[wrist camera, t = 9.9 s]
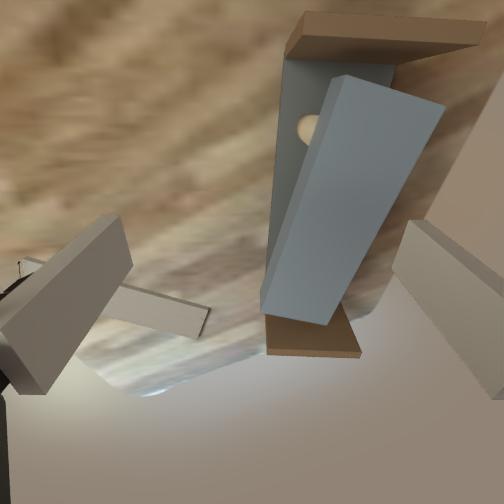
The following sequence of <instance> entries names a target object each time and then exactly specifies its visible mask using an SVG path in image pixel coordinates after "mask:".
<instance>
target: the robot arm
mask: <svg viewBox="0 0 504 504" xmlns="http://www.w3.org/2000/svg"><path fill="white" fill-rule="evenodd" d="M132 267H133V262H132V259H131V255H130V251H129V248H128V244H127V240H126V237H125V233H124V229H123V225H122V222H121V218H120V215H102V216H101V217H100V218H99V219H97V220H96V221H95V222H94V223H93V224H91V225H90V226H89V227H88V228H87V229H85V230H84V231H83V232H82V233H81V234H80V235H78V236H77V237H76V238H75V239H74V240H72V241H71V242H70V243H69V244H68V245H66V246H65V247H64V248H63V249H62V250H60V251H59V252H58V253H57V254H56V255H55V256H53V257H52V258H51V259H50V260H49V261H47V262H46V263H45V264H44V265H43V266H41V267H40V268H39V269H38V270H37V271H35V272H33V273H31V274H29V275H27V276H25V277H23V278H21V279H19V280H17V281H16V282H15V283H13V284H12V285H11V286H10V287H8V288H7V289H6V290H5V291H4V293H3V294H0V504H11V500H10V483H9V481H10V480H9V462H8V443H7V442H8V441H7V422H6V403H5V400H4V398H3V396H2V395H1V393H2V391H3V390H4V389H5V388H6V387H7V385H8V384H9V383H10V384H11V385H12V386H13V387H14V388H15V390H16V391H17V392H18V393H19V395H46V394H47V392H48V391H49V389H50V388H51V386H52V384H53V383H54V382H55V380H56V379H57V377H58V376H59V374H60V373H61V372H62V370H63V369H64V367H65V366H66V364H67V363H68V361H69V360H70V358H71V357H72V355H73V354H74V352H75V351H76V349H77V348H78V346H79V345H80V343H81V342H82V341H83V339H84V338H85V336H86V335H87V333H88V332H89V330H90V329H91V327H92V326H93V324H94V323H95V321H96V320H97V318H98V317H99V315H100V314H101V312H102V311H103V310H104V308H105V307H106V305H107V304H108V302H109V301H110V299H111V298H112V296H113V295H114V293H115V292H116V290H117V289H118V287H119V286H120V284H121V283H122V281H123V280H124V278H125V277H126V276H127V274H128V273H129V271H130V270H131V268H132ZM391 269H392V271H393V272H394V273H395V275H396V276H397V277H398V278H399V280H400V281H401V282H402V284H403V285H404V286H405V288H406V289H407V290H408V292H409V293H410V294H411V295H412V297H413V298H414V299H415V301H416V302H417V303H418V305H419V306H420V307H421V308H422V310H423V311H424V312H425V313H426V315H427V316H428V317H429V319H430V320H431V321H432V323H433V324H434V325H435V327H436V328H437V329H438V331H439V332H440V333H441V334H442V336H443V337H444V338H445V340H446V341H447V342H448V343H449V345H450V346H451V347H452V349H453V350H454V351H455V353H456V354H457V355H458V357H459V358H460V359H461V361H462V362H463V363H464V364H465V366H466V367H467V368H468V370H469V371H470V372H471V373H472V375H473V376H474V377H475V379H476V380H477V381H478V383H479V384H480V385H481V386H482V388H483V389H484V390H485V392H486V393H487V394H488V396H489V397H490V398H491V400H504V279H503V278H502V277H501V276H499V275H498V274H497V273H495V272H494V271H493V270H491V269H490V268H489V267H487V266H486V265H485V264H483V263H482V262H481V261H479V260H478V259H477V258H475V257H474V256H473V255H472V254H470V253H469V252H468V251H466V250H465V249H464V248H462V247H461V246H460V245H458V244H457V243H456V242H454V241H453V240H452V239H450V238H449V237H448V236H446V235H445V234H444V233H442V232H441V231H440V230H439V229H437V228H436V227H435V226H433V225H432V224H430V223H429V222H428V221H427V220H409V221H408V224H407V227H406V230H405V232H404V235H403V238H402V241H401V243H400V246H399V249H398V252H397V255H396V257H395V260H394V263H393V266H392V268H391Z"/></svg>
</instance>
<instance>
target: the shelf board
mask: <svg viewBox="0 0 504 504" xmlns="http://www.w3.org/2000/svg"><path fill="white" fill-rule="evenodd" d="M446 107H447V106H444V105H441V104H438V103H435V102H431V101H428V100H425V99H422V98H419V97H416V96H412V95H409V94H406V93H403V92H400V91H397V90H394V89H390V88H387V87H384V86H381V85H378V84H375V83H372V82H368V81H365V80H362V79H359V78H356V77H353V76H349V75H343V76H339V77H335V78H332V79H331V82H330V85H329V88H328V91H327V94H326V97H325V100H324V103H323V106H322V109H321V112H320V115H319V118H318V121H317V124H316V126H315V129H314V132H313V135H312V138H311V141H310V144H309V147H308V150H307V153H306V156H305V159H304V162H303V165H302V168H301V171H300V174H299V177H298V180H297V183H296V185H295V188H294V191H293V194H292V197H291V200H290V203H289V206H288V209H287V212H286V215H285V218H284V221H283V224H282V227H281V230H280V233H279V236H278V239H277V242H276V244H275V247H274V250H273V253H272V256H271V259H270V262H269V265H268V268H267V271H266V274H265V277H264V280H263V283H262V286H261V289H260V311H261V313H265V314H270V315H275V316H280V317H285V318H290V319H295V320H300V321H305V322H311V323H316V324H321V325H326V326H327V324H328V322H329V321H330V319H331V317H332V315H333V313H334V311H335V310H336V308H337V306H338V304H339V302H340V300H341V299H342V297H343V295H344V293H345V291H346V289H347V288H348V286H349V284H350V282H351V280H352V279H353V277H354V275H355V273H356V271H357V269H358V268H359V266H360V264H361V262H362V260H363V258H364V257H365V255H366V253H367V251H368V249H369V247H370V246H371V244H372V242H373V240H374V238H375V237H376V235H377V233H378V231H379V229H380V227H381V226H382V224H383V222H384V220H385V218H386V216H387V215H388V213H389V211H390V209H391V207H392V205H393V204H394V202H395V200H396V198H397V196H398V195H399V193H400V191H401V189H402V187H403V185H404V184H405V182H406V180H407V178H408V176H409V174H410V173H411V171H412V169H413V167H414V165H415V163H416V162H417V160H418V158H419V156H420V154H421V152H422V151H423V149H424V147H425V145H426V143H427V142H428V140H429V138H430V136H431V134H432V132H433V131H434V129H435V127H436V125H437V123H438V121H439V120H440V118H441V116H442V114H443V112H444V110H445V109H446Z"/></svg>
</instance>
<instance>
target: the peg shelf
mask: <svg viewBox="0 0 504 504" xmlns="http://www.w3.org/2000/svg"><path fill="white" fill-rule="evenodd" d="M486 24H487V22H484V21H467V20H450V19H433V18H416V17H399V16H381V15H364V14H347V13H330V12H313V11H305V12H304V14H303V16H302V17H301V19H300V21H299V23H298V24H297V26H296V28H295V29H294V31H293V33H292V35H291V36H290V38H289V40H288V42H287V43H286V49H285V52H284V63H283V74H282V86H281V97H280V109H279V121H278V132H277V144H276V155H275V167H274V179H273V190H272V202H271V213H270V225H269V237H268V248H267V260H266V271H267V268H268V265H269V262H270V259H271V256H272V253H273V250H274V247H275V244H276V242H277V239H278V236H279V233H280V230H281V227H282V224H283V221H284V218H285V215H286V212H287V209H288V206H289V203H290V200H291V197H292V194H293V191H294V188H295V185H296V183H297V180H298V177H299V174H300V171H301V168H302V165H303V162H304V159H305V156H306V153H307V150H308V147H309V144H310V141H311V138H312V135H313V132H314V129H315V126H316V124H317V121H318V118H319V115H320V112H321V109H322V106H323V103H324V100H325V97H326V94H327V91H328V88H329V85H330V82H331V79H332V78H335V77H339V76H343V75H349V76H353V77H356V78H359V79H362V80H365V81H368V82H372V83H375V84H378V85H381V86H384V87H387V88H390V86H391V83H392V79H393V75H394V71H395V67H396V65H398V64H402V63H406V62H410V61H414V60H418V59H422V58H426V57H430V56H435V55H439V54H443V53H447V52H451V51H455V50H459V49H463V48H467V47H471V46H476V45H479V43H480V40H481V37H482V35H483V32H484V29H485V27H486ZM265 274H266V272H265ZM265 326H266V346H267V355H281V356H307V357H334V358H360V356H361V353H362V351H361V349H360V347H359V344H358V342H357V339H356V337H355V335H354V333H353V330H352V328H351V325H350V323H349V321H348V318H347V316H346V314H345V311H344V309H343V307H342V304H341V302H339V304H338V306H337V308H336V310H335V311H334V313H333V315H332V317H331V319H330V321H329V322H328V324H327V326H326V325H321V324H316V323H311V322H305V321H300V320H295V319H290V318H285V317H280V316H275V315H270V314H265Z"/></svg>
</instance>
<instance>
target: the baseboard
mask: <svg viewBox="0 0 504 504" xmlns="http://www.w3.org/2000/svg"><path fill="white" fill-rule="evenodd" d="M19 263H20V262H18V264H19ZM45 263H46V262H45V261H41V260H38V259H34V258H31V257H25V258H24V259H23V270H24V277H25V276H27V275H29V274H31V273H33V272H35V271H37V270H38V269H39V268H40V267H41V266H43V265H44V264H45ZM19 273H20V266H19ZM20 279H21V278H20ZM18 280H19V279H18ZM208 309H209V307H206V306H203V305H199V304H196V303H192V302H188V301H185V300H181V299H178V298H174V297H170V296H167V295H163V294H160V293H156V292H153V291H149V290H145V289H142V288H138V287H135V286H131V285H127V284H124V283H121V284H120V286H119V287H118V289H117V290H116V292H115V293H114V295H113V296H112V298H111V299H110V301H109V302H108V304H107V305H106V307H105V308H104V310H103V311H102V312H101V314H100V315H102V316H106V317H110V318H114V319H118V320H122V321H126V322H130V323H133V324H137V325H141V326H145V327H149V328H153V329H157V330H161V331H165V332H169V333H173V334H177V335H181V336H185V337H189V338H192V339H196V340H197V338H198V336H199V333H200V331H201V328H202V325H203V323H204V320H205V318H206V315H207V312H208Z"/></svg>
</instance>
